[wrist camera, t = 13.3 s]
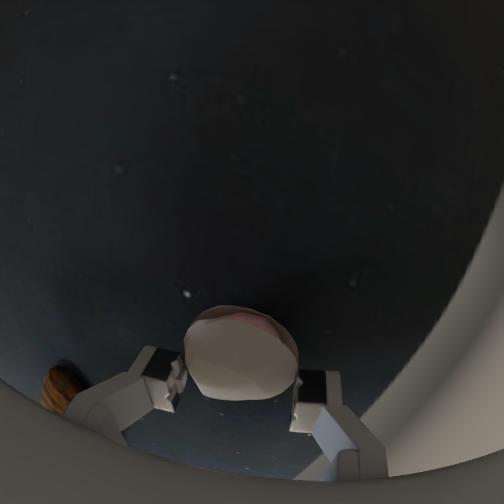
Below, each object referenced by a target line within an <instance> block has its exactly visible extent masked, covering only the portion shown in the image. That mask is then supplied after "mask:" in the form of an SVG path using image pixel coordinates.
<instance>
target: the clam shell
mask: <svg viewBox="0 0 504 504" xmlns="http://www.w3.org/2000/svg"><path fill="white" fill-rule="evenodd" d="M184 346H185V363H186V366H187V368H188V371H189V373H190V374H191V376H192V378H193V379H194V381H195V382H196V384H197V386H198V387H199V389H200V391H201V392H202V394H203V395H205V396H207V397H210V398H215V399H222V400H236V401H239V400H259V399H267V398H271V397H273V396H276V395H278V394H281V393H283V392H284V391H285V390H286V389H287V388H288V387H289V386H290V385H291V384H292V383H293V382H294V380H295V379H296V374H297V369H298V349H297V346H296V342H295V341H294V339H293V338H292V336H291V335H290V334H289V332H288V331H287V329H285V328H284V327H283V326H282V325H280V324H279V323H278V322H276V321H275V320H274V319H273V318H271V317H270V316H269V315H265V314H262V313H260V312H257V311H255V310H252V309H250V308H244V307H238V306H231V305H218V306H216V307H213V308H211V309H208V310H206V311H203V312H202V313H201V314H200V315H199V316H198V317H197V318H196V319H195V320H194V321H193V322H192V323H191V325H190V327H189V329H188V330H187V333H186V336H185V338H184Z"/></svg>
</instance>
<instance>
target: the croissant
mask: <svg viewBox="0 0 504 504" xmlns="http://www.w3.org/2000/svg"><path fill="white" fill-rule="evenodd" d="M84 390H85V388H84V387H83V385H82V384H81V383H80V382H79V381H78V379H77V378H76V377H75V376H74V374H73V373H72V372H71V371H69V370H68V369H67V368H66V367H65V366H61V365H56V366H54V367H53V368H51V369H50V371H49V372H48V374H47V376H46V378H45V381H44V385H43V388H42V391H41V405H42V406H43V407H45V408H47V409H49V410H51V411H52V412H54V413H56V414H58V415H60V416H61V415H62V414H63V412H64V411H65V409H66V408H67V407H68V405H69V404H70V402H71V401H72V400H73V398H74V397H75V395H76V394H78V393H80V392H82V391H84Z"/></svg>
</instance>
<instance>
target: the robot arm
mask: <svg viewBox="0 0 504 504" xmlns="http://www.w3.org/2000/svg"><path fill="white" fill-rule="evenodd" d="M184 362H185V356H184V354H183V353H179V352H175V351H170V350H166V349H162V348H157V347H153V346H149V345H147V346H145V347H144V348H143V349H142V351H141V352H140V354H139V355H138V357H137V358H136V360H135V361H134V363H133V364H132V366H131V368H130V369H129V371H128V372H122V373H120V374H118V375H116V376H114V377H112V378H110V379H108V380H106V381H104V382H101V383H99V384H97V385H95V386H93V387H91V388H89V389H86V390H84V391H82V392H80V393H78V394H76V395H75V397H74V398H73V400H72V401H71V402H70V404H69V405H68V407H67V408H66V409H65V411H64V412H63V414H62V415H61V416H60V415H58V414H56V413H54V412H52V411H51V410H49V409H47V408H45V407H43V406H42V405H40V404H38V403H37V402H35V401H33V400H32V399H30V398H28V397H27V396H25V395H24V394H22V393H21V392H19V391H17V390H16V389H14V388H13V387H11V386H10V385H9V384H7V383H6V382H4V381H3V380H1V379H0V504H504V449H502V450H499V451H496V452H494V453H491V454H488V455H485V456H482V457H479V458H476V459H473V460H469V461H466V462H462V463H459V464H455V465H451V466H447V467H443V468H438V469H434V470H429V471H424V472H419V473H414V474H408V475H401V476H393V477H388V468H387V460H386V452H385V447H384V446H383V445H382V443H381V442H380V441H379V440H378V439H377V438H376V437H375V436H374V435H373V434H372V433H371V432H370V431H369V429H368V428H367V427H366V426H365V425H364V424H363V423H362V422H361V421H360V420H359V419H358V417H357V416H356V415H355V414H354V413H353V412H352V411H351V410H350V409H349V407H348V406H343V401H342V390H341V381H340V373H339V371H324V370H307V369H297V374H296V380H295V384H294V387H293V393H292V401H291V408H292V411H291V416H290V426H289V431H293V432H305V433H312V435H313V436H314V438H315V440H316V441H317V443H318V444H319V446H320V448H321V449H322V451H323V452H324V454H325V455H326V457H327V458H328V460H329V461H330V463H331V464H330V466H329V467H328V469H327V470H326V472H325V474H324V475H323V476H322V478H321V479H320V481H303V480H285V479H273V478H263V477H254V476H247V475H240V474H234V473H228V472H222V471H217V470H212V469H207V468H202V467H198V466H193V465H189V464H185V463H181V462H178V461H174V460H170V459H167V458H163V457H160V456H157V455H153V454H150V453H147V452H144V451H141V450H138V449H135V448H133V447H130V446H127V445H128V444H127V442H126V440H125V438H124V437H123V435H122V433H121V431H123V430H124V429H125V428H127V427H128V426H130V425H131V424H133V423H134V422H136V421H137V420H138V419H140V418H141V417H143V416H144V415H146V414H147V413H148V412H150V411H151V410H153V409H154V408H158V409H162V410H166V411H170V412H175V409H176V407H177V405H178V403H179V400H180V398H179V393H181V392H183V391H184V388H185V386H186V382H187V369H186V367H185V366H184ZM153 407H154V408H153Z"/></svg>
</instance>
